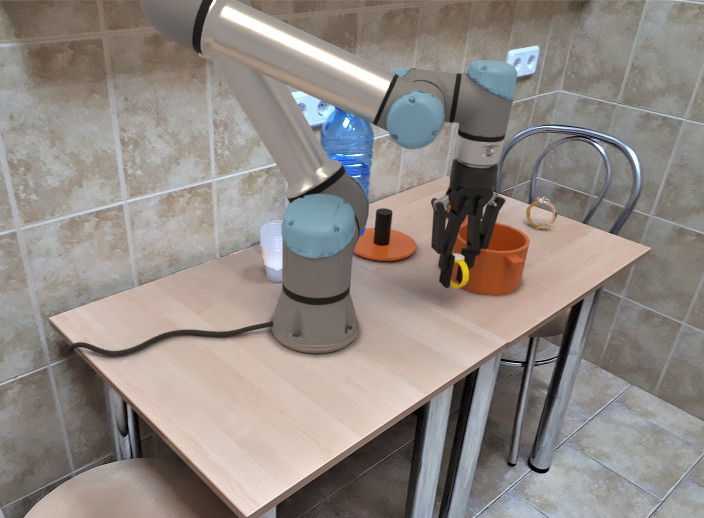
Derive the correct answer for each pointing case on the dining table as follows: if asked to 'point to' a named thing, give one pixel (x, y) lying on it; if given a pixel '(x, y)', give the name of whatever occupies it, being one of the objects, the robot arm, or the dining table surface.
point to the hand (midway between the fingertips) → (452, 283)
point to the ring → (538, 202)
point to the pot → (495, 261)
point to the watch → (465, 271)
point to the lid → (384, 240)
